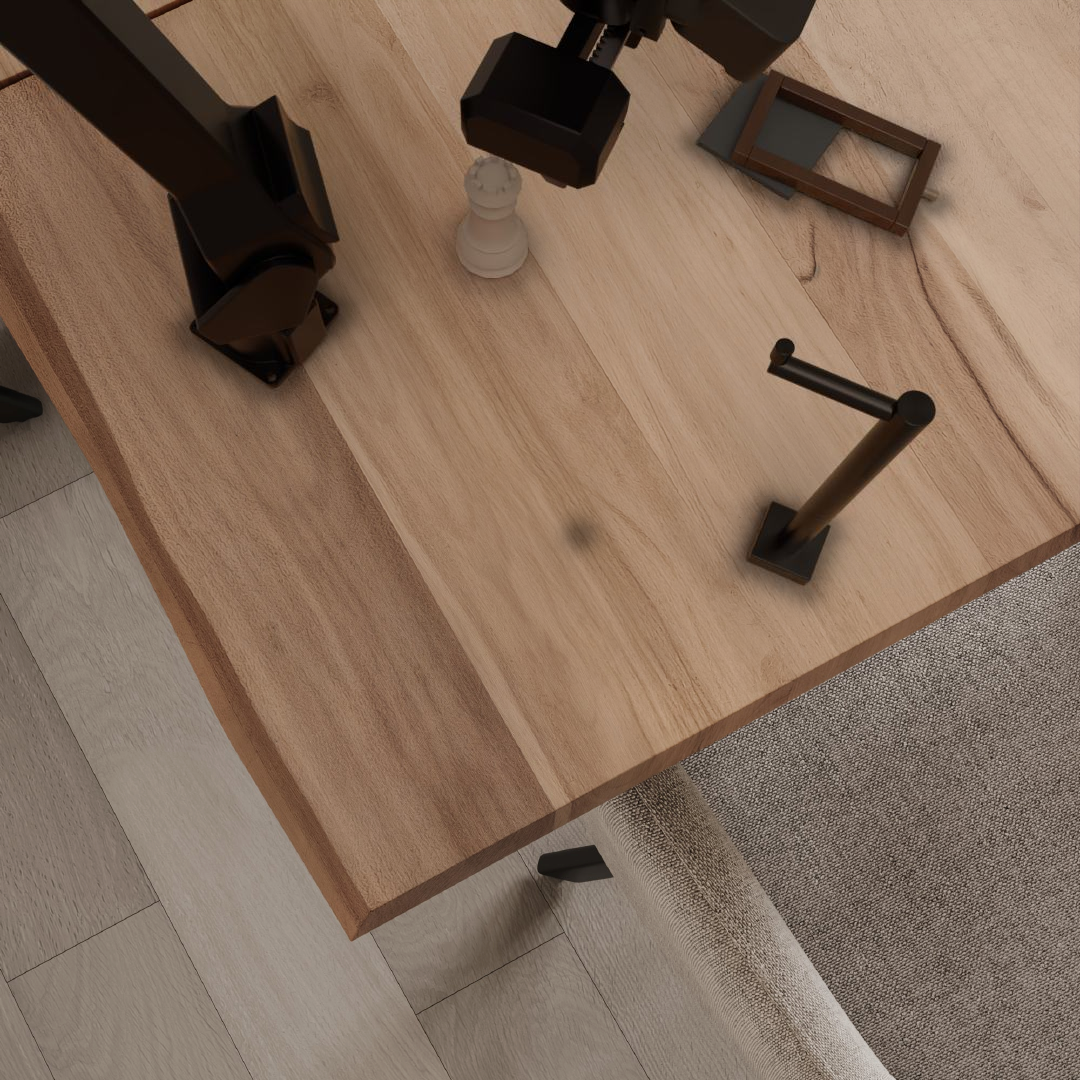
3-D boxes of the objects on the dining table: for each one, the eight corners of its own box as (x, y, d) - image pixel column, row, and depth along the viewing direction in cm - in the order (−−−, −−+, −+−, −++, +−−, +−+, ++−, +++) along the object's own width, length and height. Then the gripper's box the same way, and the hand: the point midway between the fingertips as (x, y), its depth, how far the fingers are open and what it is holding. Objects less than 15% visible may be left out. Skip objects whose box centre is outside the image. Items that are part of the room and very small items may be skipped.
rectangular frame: (733, 150, 69) (924, 235, 68) (771, 68, 70) (957, 150, 70) (729, 160, 69) (917, 243, 69) (766, 78, 71) (949, 159, 71)
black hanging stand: (674, 530, 63) (760, 379, 43) (697, 476, 64) (791, 305, 44) (804, 586, 62) (950, 459, 43) (825, 531, 63) (977, 382, 44)
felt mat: (696, 144, 70) (697, 140, 70) (753, 71, 72) (754, 67, 72) (788, 201, 70) (790, 197, 69) (843, 125, 71) (845, 122, 71)
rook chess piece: (447, 272, 67) (442, 196, 59) (466, 211, 68) (463, 128, 61) (518, 290, 67) (522, 215, 59) (535, 228, 68) (542, 147, 60)
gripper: (745, 107, 37) (671, 324, 52) (914, -259, 42) (803, 33, 57) (448, -11, 38) (459, 235, 53) (650, -357, 43) (608, -44, 58)
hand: (593, 112), depth 55 cm, fingers open, 9 cm apart
